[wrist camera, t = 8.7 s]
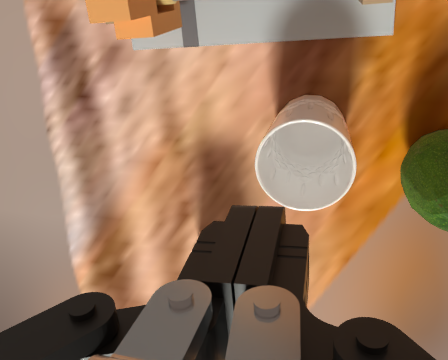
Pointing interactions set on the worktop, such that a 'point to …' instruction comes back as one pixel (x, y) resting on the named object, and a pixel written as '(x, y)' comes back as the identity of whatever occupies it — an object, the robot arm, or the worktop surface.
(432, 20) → the worktop surface
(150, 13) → the collar
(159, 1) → the pipe stand
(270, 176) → the white cup
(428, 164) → the avocado
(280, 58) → the worktop surface
